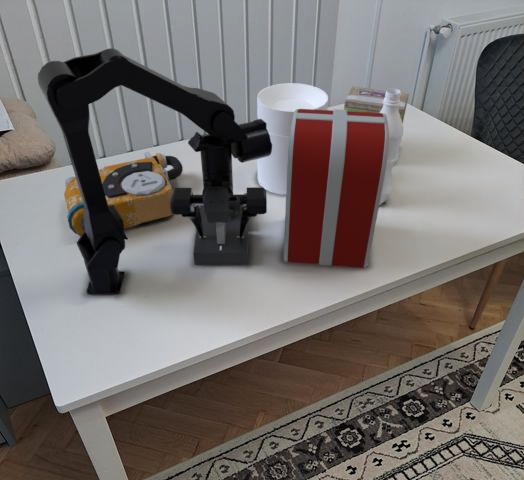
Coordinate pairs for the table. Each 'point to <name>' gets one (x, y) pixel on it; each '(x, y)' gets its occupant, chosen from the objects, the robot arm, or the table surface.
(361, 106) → the tea box
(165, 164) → the device
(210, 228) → the panel
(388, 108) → the water bottle
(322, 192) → the wrapped gift box
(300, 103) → the canister
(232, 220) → the button block
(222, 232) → the grey rectangular block
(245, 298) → the table surface
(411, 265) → the table surface
